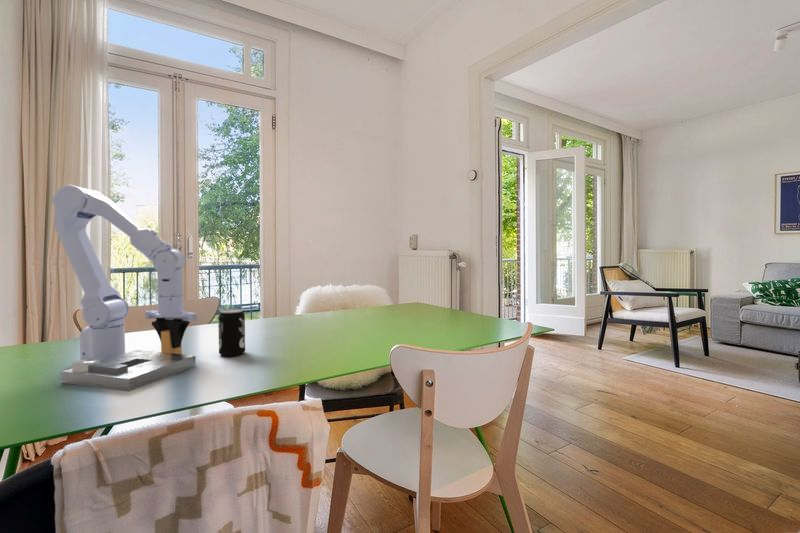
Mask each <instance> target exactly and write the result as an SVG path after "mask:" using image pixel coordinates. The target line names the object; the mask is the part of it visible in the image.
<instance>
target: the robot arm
mask: <svg viewBox="0 0 800 533" xmlns="http://www.w3.org/2000/svg"><path fill="white" fill-rule="evenodd" d="M51 202H52V203H53V206H54V221H53V222H54V224H53V226H54V229H55V231H56V233H57V236H58V238H59V240H60V242H61V244H62V247H63V248H64V251H65V254H66V256H67V257H68V260H69V262H70V264H71V266H72V269H73V270H74V273H75V275H76V278H77V280H78V282H79V284H80V286H81V289H82V291H83V295H82V297H81V299H80V304H81V307H82V315H81V316H82V320H83V321H84V322H85V323H86V325H87V326H84V328H83V329H82V330H81V331H80V334H79V353H80V354H79V355H80V356H79V359H77V360H76V361H79V360H84V359H100V360H104V359H107V358H111V357H114V356H118V355H121V354H125V353H126V337H125V336H126V334H125V332H126V331H125V318H126V317H127V316H128V315H129V312H130V305H129V303H128V301H127V300H125V299H124V298H123V297H122V296H121V294H120V293H119V291H118V290H117V289H116V288H114V287H113V286H112V285H111V284H110V282H109V280H108V278H107V276H106V274H105V271H104V269H103V267H102V265H101V263H100V260H99V258H98V255H97V254H96V251H95V249H94V247H93V245H92V243H91V239H90V238H89V235H88V233H87V231H86V227H87V225H88V223H89V222H90V221H91V220H93V219H94V218H96V217H97V216H100V217H102V218H104V219H105V220H106V221H108V222H109V223H111V224H112V225H114V227H116V228H117V229H118V230H120V231H121V232H122V233H124V234H125V235H127V236H128V237H129V242H130V245H131V246H133V247H134V248H135V249H136V250H137V251H138V252H140V253H141V254H142V255H144V256H145V257H146V258H147V259H148V260H150V261H151V263H152V266H153V268H154V269H155V271H156V272H157V279H156V280H157V310H145V313H144V314H145V319H146V320H150V319H153V320H155V321H151V326H152V327H153V328H154V329H155V331H156V333H157V335H158V338H159V340H160V342H161V331H165V330H169V331H170V335H171V345H172V348H174V349H175V348H178V347H180V346H181V345H182V343H183V338H184V335H185V332H186V330H187V328H188V326H189V325H190V323H191V322H197V321H198V314H197V313H196V312H190V311H184V280H183V279H184V278H183V268H184V267H185V265H186V263H187V262H186V261H187V258H186V256H185V254H184V253H183V252H182V251H181V250H180V249H179V248H173V244H172V243H170V242H169V243H167V242H166V241H165V240H164V239H163V238H161V237H160V236H159V235H158V234H159V233H158V231H156V230H155V229H150V228H147V227H145V228H144V227H143V228H141V226H139V224H137V223H136V222H135V221H133V220H132V218H130V217H129V216H128V215H127V214H126V213H125V212H123V211H122V210H121V209H120V208H119V207H118V206H117V205H116V204H115V203H114V202H113V201H112V200H111V199H110V198H108V197H107V196H104V194H103V193H101V192H100V191H98V190H96V189H88V188H84V187H79V186H77V185H73V184H66V185H63V186H61V187H60V188H58V189H57V191H56V192H55V194H54V195H53V197H52V198H51Z"/></svg>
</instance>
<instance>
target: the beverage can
mask: <svg viewBox="0 0 800 533" xmlns="http://www.w3.org/2000/svg"><path fill="white" fill-rule="evenodd" d="M219 312H220V313H219V315H218V317H217V321H218V325H217V326H218V354H220V356H221V357H224V358H233V357H238V356H242V355H243V354H244V353H245V351H246V318H245V317H246V315H245V313H244V310H243V309H242V308H241V309H240V308H228V309H227V308H226V309H221V310H220V311H219Z"/></svg>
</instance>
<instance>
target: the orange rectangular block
mask: <svg viewBox="0 0 800 533" xmlns="http://www.w3.org/2000/svg"><path fill="white" fill-rule="evenodd" d="M160 347H161V349H160V350H161V352H164V353H175V354H183V353H182V344H181V346H180V347H178V348H175V349H174V348H172V345H171V335H170V331H169V330H165V331H161V341H160Z"/></svg>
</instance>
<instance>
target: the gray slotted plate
mask: <svg viewBox="0 0 800 533" xmlns="http://www.w3.org/2000/svg"><path fill="white" fill-rule="evenodd" d="M196 359H197V356H196V355H194V354H184V353H182V354H175V353H164V352H160V351H154V350H153V351H152V350H138V349H136V350H132V351H129V352H125V354H121V355H118V356H114V357H111V358H107V359H104V360H100V359H84V360H79V361H77V360H76V361H73V362H72V363H71V368H70V369H65V370H62V371H60V372H61V384H68V385H75V386H76V385H77V386H83V387H92V388H99V389H100V388H101V389H102V388H103V389H107V390H108V389H109V390H118V391H122V392H123V391H124V392H130V391H133V390H135V389H138V388H141V387H143V386H146V385H149V384H152V383H154V382H157V381H159V380H161V379H164V378H166V377H169V376H172V375H175V374H177V373H179V372H183V371H186V370H187V369H190V368H192V367H193V368H194V367H196V365H197V362H196Z"/></svg>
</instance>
